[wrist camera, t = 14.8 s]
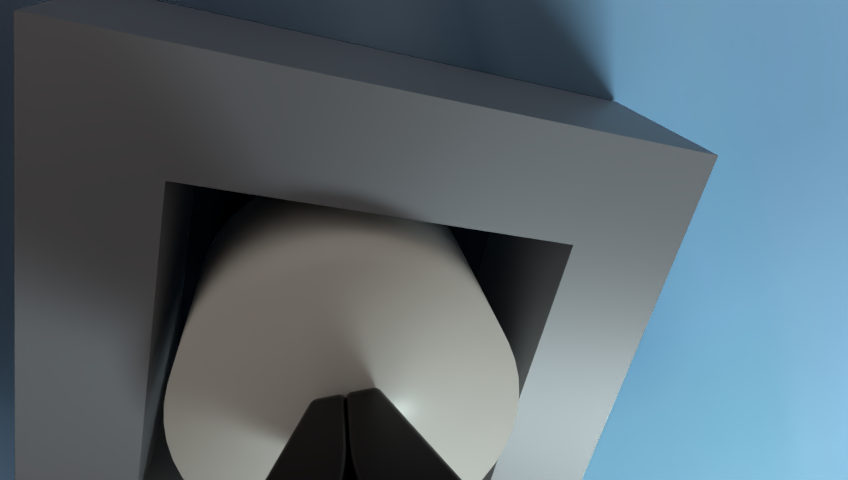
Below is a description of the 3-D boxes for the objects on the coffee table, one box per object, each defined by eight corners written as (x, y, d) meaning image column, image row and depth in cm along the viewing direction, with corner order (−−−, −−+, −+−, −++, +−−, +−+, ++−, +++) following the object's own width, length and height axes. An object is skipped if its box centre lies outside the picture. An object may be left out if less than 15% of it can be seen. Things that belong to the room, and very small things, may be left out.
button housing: (616, 101, 11) (717, 155, 8) (488, 469, 14) (532, 596, 11) (99, -13, 9) (14, 10, 6) (79, 443, 12) (14, 590, 9)
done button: (496, 197, 11) (562, 286, 8) (433, 414, 12) (469, 549, 10) (215, 149, 10) (180, 233, 7) (186, 394, 11) (149, 540, 8)
